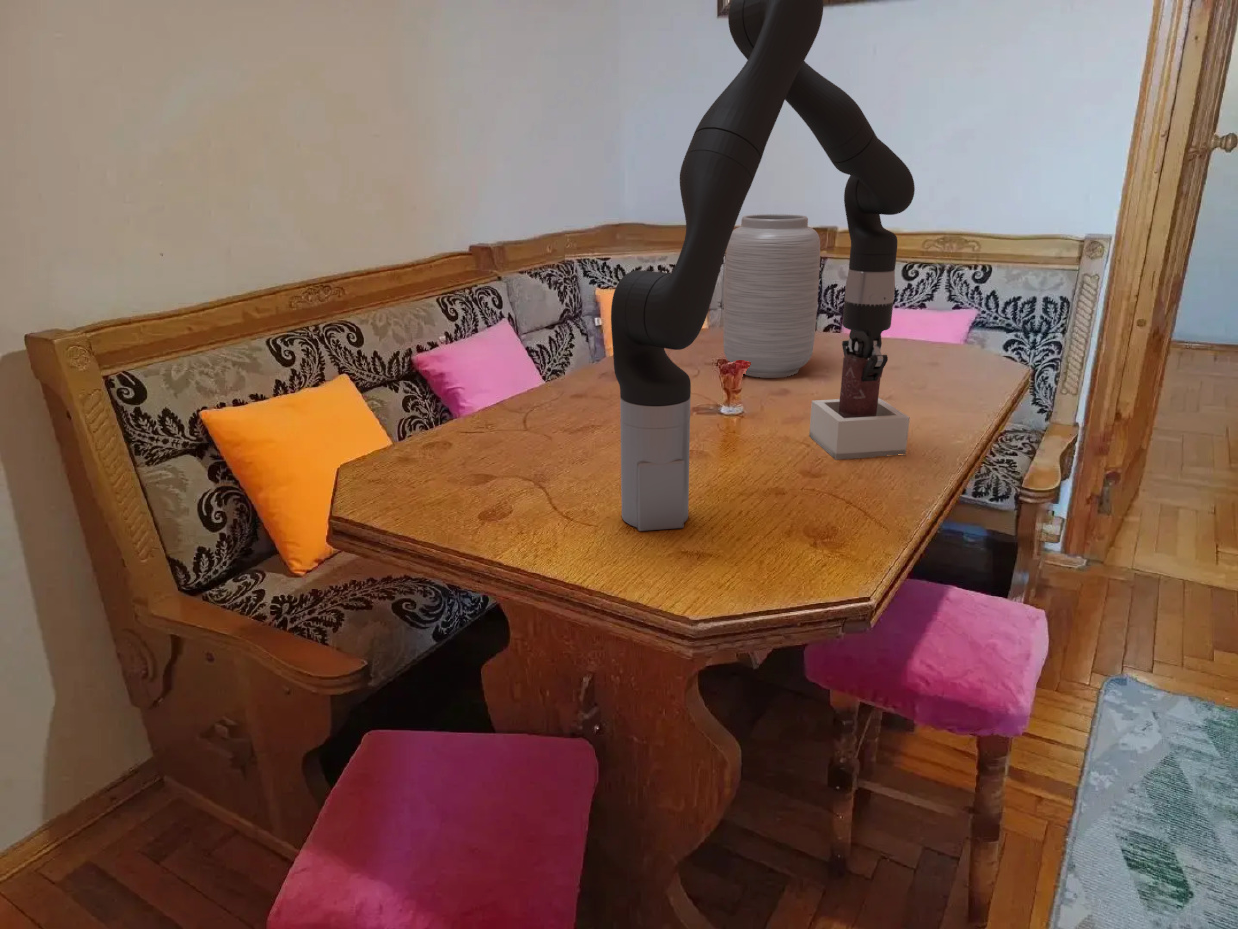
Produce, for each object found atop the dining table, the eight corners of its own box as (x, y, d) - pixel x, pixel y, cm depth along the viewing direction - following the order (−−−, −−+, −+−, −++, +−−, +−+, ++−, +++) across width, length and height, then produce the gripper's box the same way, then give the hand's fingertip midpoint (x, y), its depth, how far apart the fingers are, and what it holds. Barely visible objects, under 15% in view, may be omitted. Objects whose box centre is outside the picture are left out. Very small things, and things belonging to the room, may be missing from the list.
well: (905, 455, 138) (909, 417, 136) (835, 459, 137) (838, 421, 135) (874, 432, 150) (877, 396, 147) (809, 436, 148) (811, 400, 146)
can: (877, 441, 139) (886, 358, 134) (837, 439, 140) (845, 356, 135) (874, 429, 145) (882, 349, 140) (836, 427, 146) (843, 348, 141)
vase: (743, 385, 180) (750, 221, 168) (708, 363, 198) (712, 214, 186) (828, 377, 185) (841, 218, 173) (787, 357, 203) (796, 211, 191)
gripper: (910, 304, 129) (898, 413, 135) (873, 291, 141) (864, 391, 147) (863, 306, 128) (853, 415, 134) (830, 292, 140) (822, 393, 146)
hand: (859, 402), depth 141 cm, fingers closed
